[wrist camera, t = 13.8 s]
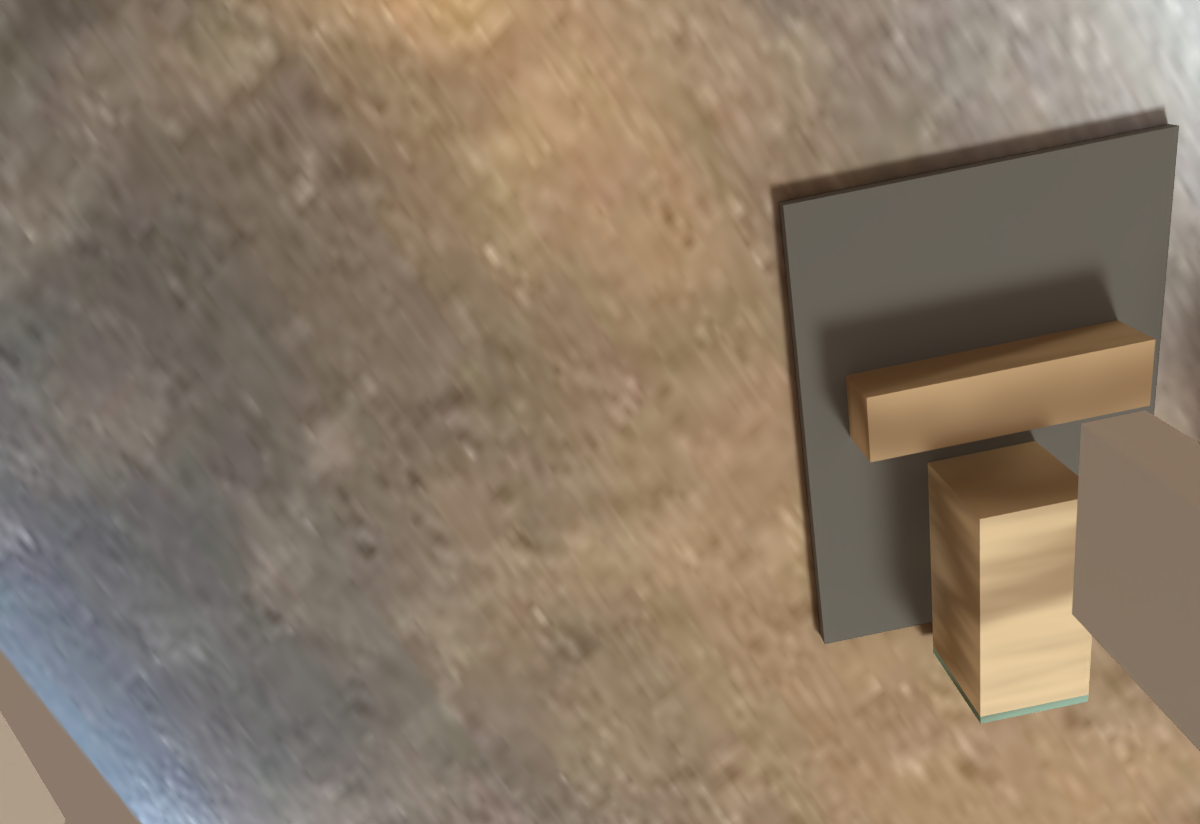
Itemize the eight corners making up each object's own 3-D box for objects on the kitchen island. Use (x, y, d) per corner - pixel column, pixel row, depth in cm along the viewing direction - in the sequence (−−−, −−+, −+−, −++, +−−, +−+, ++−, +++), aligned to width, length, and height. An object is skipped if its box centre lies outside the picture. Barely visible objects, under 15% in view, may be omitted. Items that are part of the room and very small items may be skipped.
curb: (845, 375, 39) (866, 397, 36) (1117, 320, 39) (1155, 339, 36) (850, 436, 40) (870, 462, 38) (1113, 383, 40) (1149, 405, 38)
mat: (779, 202, 36) (783, 205, 35) (1168, 124, 36) (1178, 125, 36) (820, 636, 45) (824, 643, 44) (1131, 572, 45) (1139, 579, 45)
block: (979, 519, 36) (980, 723, 41) (1100, 494, 36) (1087, 701, 41) (927, 463, 41) (933, 652, 45) (1035, 441, 41) (1030, 632, 45)
